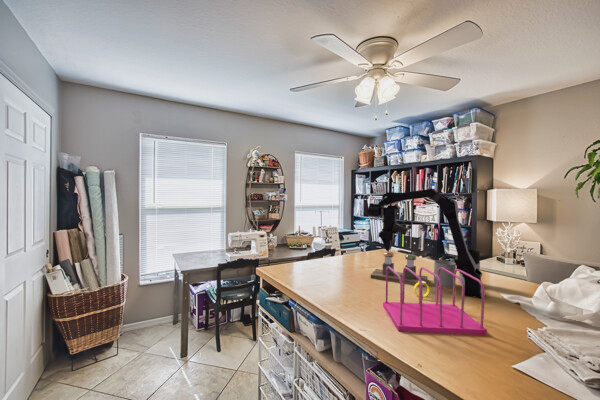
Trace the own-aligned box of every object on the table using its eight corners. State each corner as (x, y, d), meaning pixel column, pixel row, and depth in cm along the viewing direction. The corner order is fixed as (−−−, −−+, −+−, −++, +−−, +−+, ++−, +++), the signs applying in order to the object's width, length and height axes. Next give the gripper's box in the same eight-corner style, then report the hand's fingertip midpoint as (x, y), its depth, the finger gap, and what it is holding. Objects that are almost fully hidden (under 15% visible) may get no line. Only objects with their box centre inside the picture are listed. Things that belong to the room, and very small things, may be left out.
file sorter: (382, 306, 94) (383, 262, 94) (455, 309, 93) (456, 265, 93) (398, 331, 77) (399, 278, 77) (487, 335, 76) (489, 281, 75)
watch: (426, 295, 106) (427, 281, 106) (430, 298, 103) (431, 283, 103) (411, 294, 106) (413, 280, 105) (415, 297, 103) (416, 282, 103)
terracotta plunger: (392, 268, 125) (392, 254, 125) (382, 266, 128) (382, 253, 127) (393, 265, 130) (394, 252, 129) (384, 264, 132) (384, 251, 132)
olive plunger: (415, 271, 121) (415, 256, 121) (404, 269, 123) (404, 255, 123) (416, 268, 125) (416, 255, 125) (405, 267, 127) (406, 253, 127)
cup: (449, 282, 123) (450, 260, 123) (458, 288, 115) (459, 265, 114) (430, 281, 124) (431, 259, 123) (438, 287, 115) (438, 264, 115)
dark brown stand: (426, 287, 115) (426, 272, 115) (370, 278, 127) (370, 264, 127) (427, 279, 126) (427, 265, 126) (376, 271, 137) (376, 259, 137)
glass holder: (482, 283, 121) (483, 251, 121) (475, 291, 111) (477, 256, 110) (460, 279, 127) (461, 248, 127) (452, 286, 117) (453, 252, 116)
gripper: (404, 220, 116) (403, 256, 116) (409, 217, 133) (408, 248, 133) (378, 219, 121) (378, 253, 122) (386, 216, 138) (385, 246, 138)
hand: (388, 250), depth 128 cm, fingers open, 4 cm apart
